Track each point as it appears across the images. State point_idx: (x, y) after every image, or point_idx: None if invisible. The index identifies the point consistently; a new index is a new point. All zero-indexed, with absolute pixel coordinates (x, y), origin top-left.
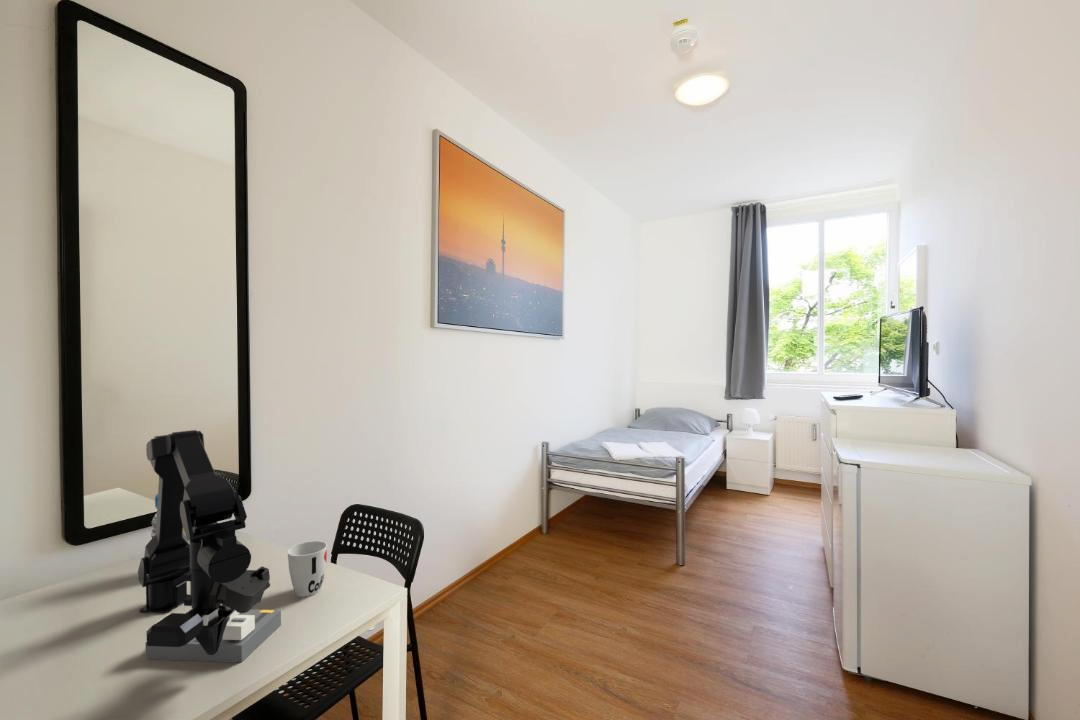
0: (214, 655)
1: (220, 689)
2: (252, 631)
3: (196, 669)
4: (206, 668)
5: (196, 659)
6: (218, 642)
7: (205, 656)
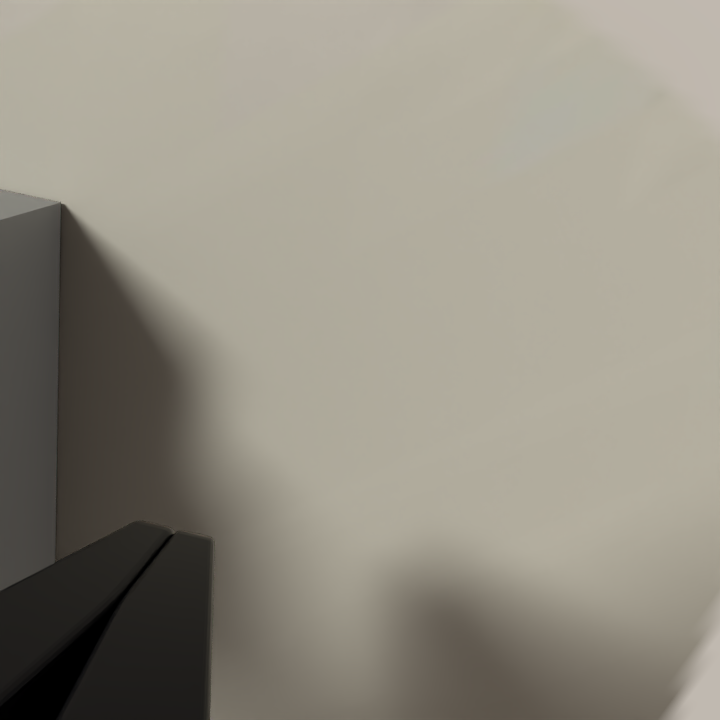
0: (19, 529)
1: (516, 215)
2: None
3: None
4: (154, 517)
5: None
6: (65, 611)
7: None
